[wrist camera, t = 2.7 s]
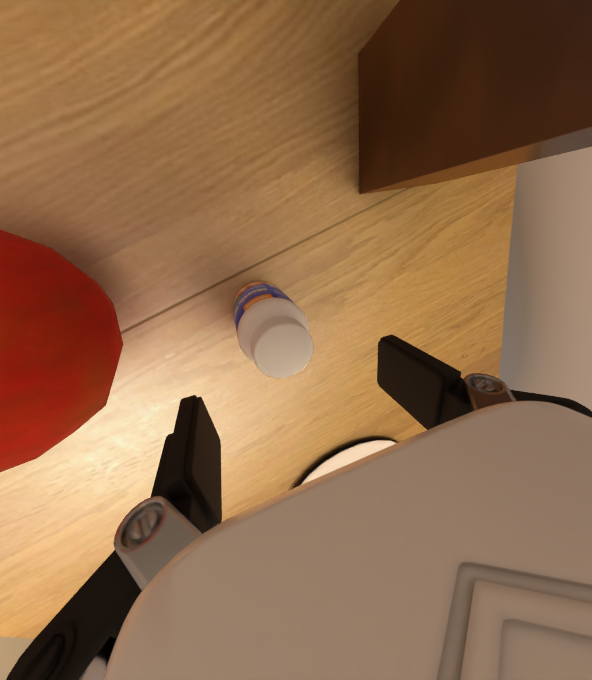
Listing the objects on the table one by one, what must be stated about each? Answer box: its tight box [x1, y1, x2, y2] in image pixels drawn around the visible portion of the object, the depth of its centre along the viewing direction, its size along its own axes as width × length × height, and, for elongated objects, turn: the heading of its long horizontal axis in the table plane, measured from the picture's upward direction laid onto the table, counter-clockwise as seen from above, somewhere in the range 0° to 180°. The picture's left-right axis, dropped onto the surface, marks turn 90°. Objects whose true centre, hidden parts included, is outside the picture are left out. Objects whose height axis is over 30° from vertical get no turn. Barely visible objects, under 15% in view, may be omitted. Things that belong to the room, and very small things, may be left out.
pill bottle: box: [233, 282, 314, 378], centre depth 18 cm, size 5×5×10 cm
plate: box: [299, 440, 396, 486], centre depth 41 cm, size 25×25×1 cm
